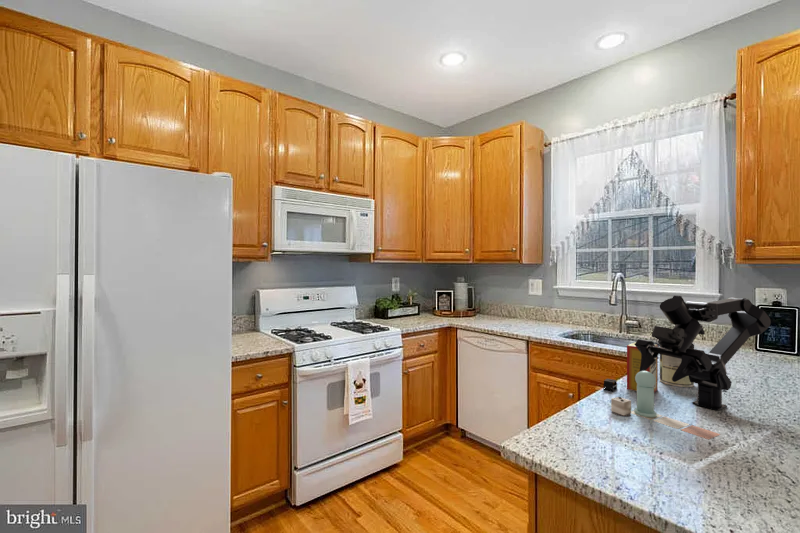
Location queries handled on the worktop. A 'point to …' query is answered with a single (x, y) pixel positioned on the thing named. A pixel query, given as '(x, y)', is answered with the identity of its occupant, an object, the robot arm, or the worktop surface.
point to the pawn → (645, 394)
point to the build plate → (610, 384)
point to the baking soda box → (638, 367)
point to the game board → (624, 409)
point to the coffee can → (672, 371)
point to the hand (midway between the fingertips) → (656, 376)
